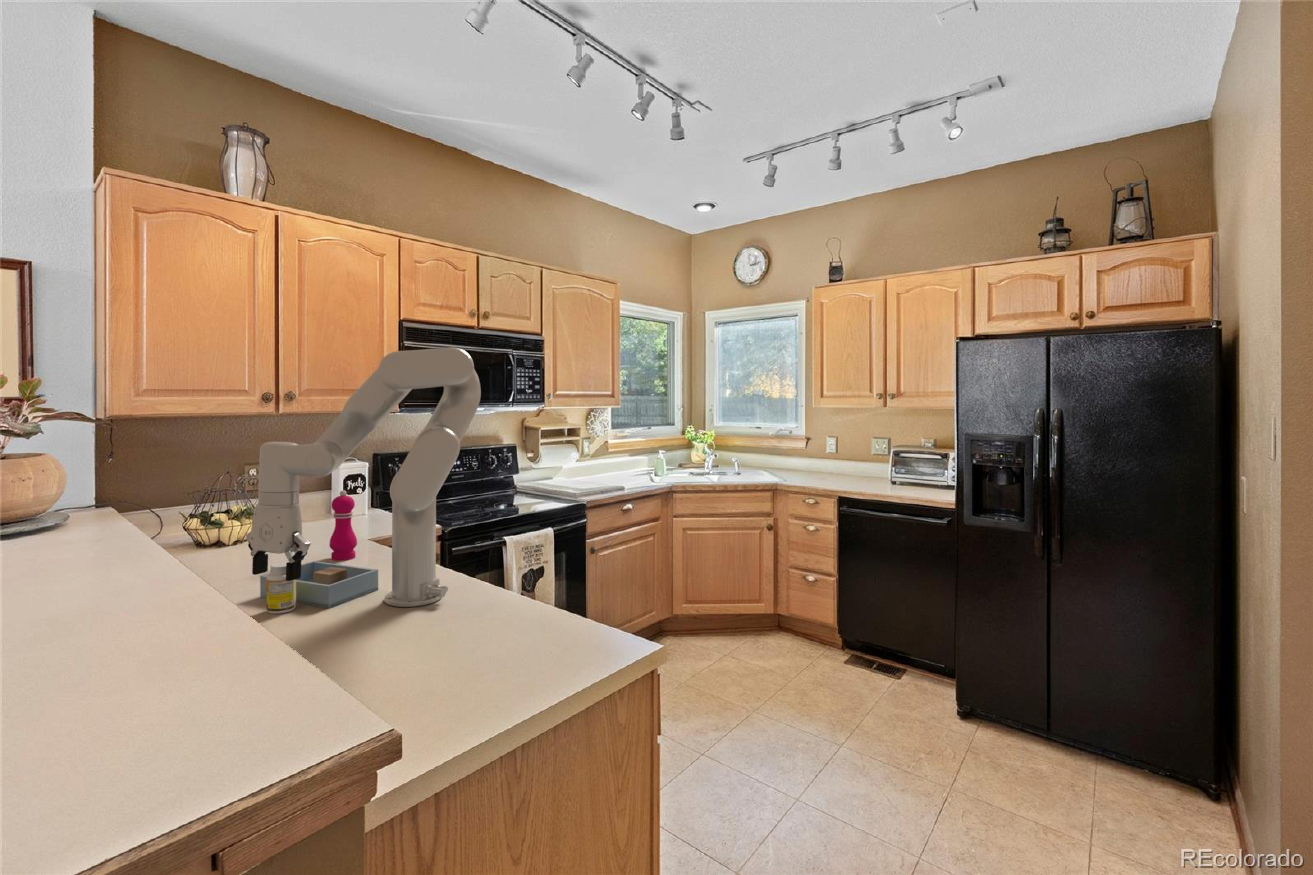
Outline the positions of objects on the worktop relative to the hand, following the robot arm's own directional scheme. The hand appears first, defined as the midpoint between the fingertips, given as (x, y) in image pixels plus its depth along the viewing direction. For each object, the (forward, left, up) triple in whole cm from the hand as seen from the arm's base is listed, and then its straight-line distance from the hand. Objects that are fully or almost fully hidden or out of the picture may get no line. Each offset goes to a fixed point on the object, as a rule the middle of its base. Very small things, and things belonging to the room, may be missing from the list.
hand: (276, 576), depth 131 cm
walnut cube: (-2, -13, -7) cm, 14 cm away
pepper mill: (+22, -40, -8) cm, 46 cm away
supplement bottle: (-1, -1, -8) cm, 8 cm away
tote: (+1, -13, -8) cm, 15 cm away
